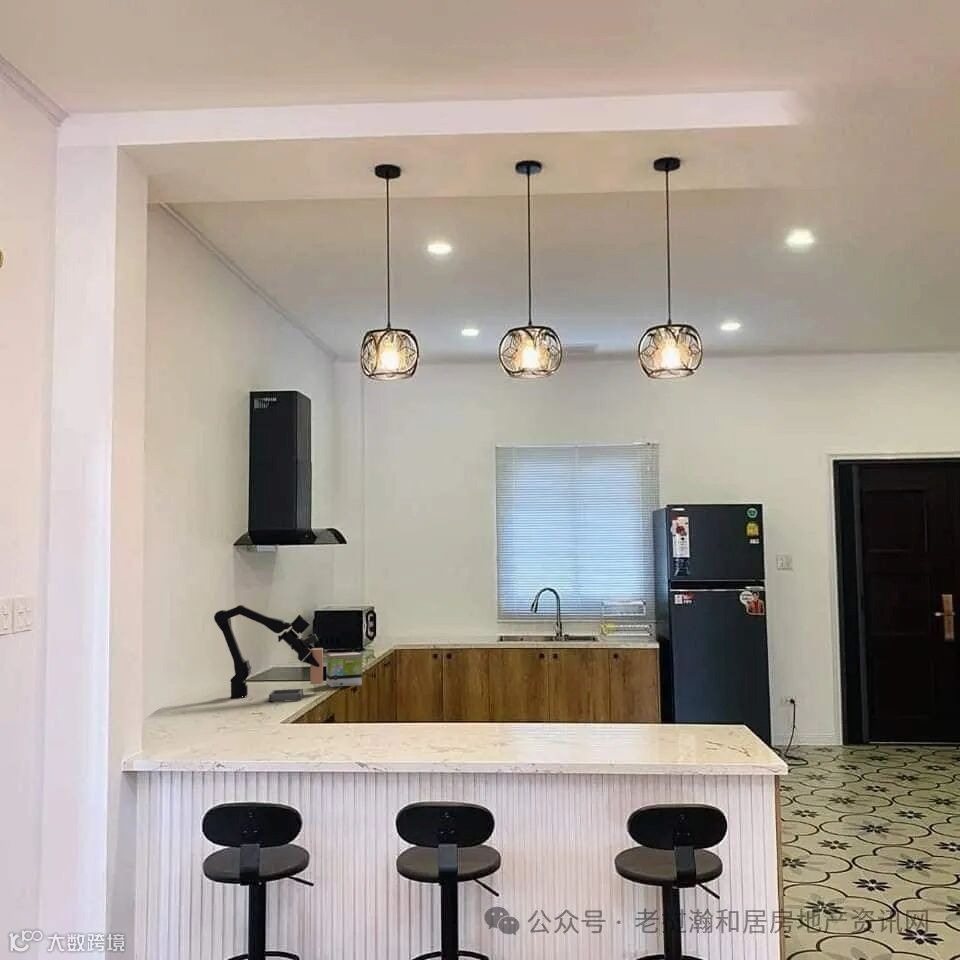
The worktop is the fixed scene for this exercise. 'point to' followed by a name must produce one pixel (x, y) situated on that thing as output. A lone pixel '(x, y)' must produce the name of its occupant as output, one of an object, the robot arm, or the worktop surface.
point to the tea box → (344, 669)
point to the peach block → (317, 671)
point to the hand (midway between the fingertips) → (319, 665)
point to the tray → (286, 695)
